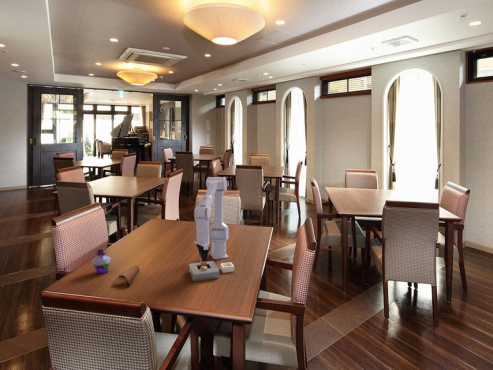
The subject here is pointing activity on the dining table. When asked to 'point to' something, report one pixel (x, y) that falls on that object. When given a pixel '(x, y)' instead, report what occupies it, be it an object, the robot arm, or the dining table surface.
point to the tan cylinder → (203, 262)
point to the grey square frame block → (203, 271)
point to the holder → (227, 267)
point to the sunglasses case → (126, 277)
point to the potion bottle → (101, 261)
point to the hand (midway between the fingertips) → (203, 260)
